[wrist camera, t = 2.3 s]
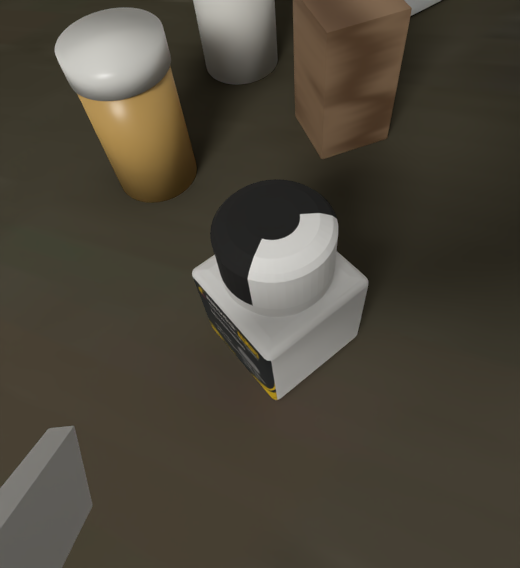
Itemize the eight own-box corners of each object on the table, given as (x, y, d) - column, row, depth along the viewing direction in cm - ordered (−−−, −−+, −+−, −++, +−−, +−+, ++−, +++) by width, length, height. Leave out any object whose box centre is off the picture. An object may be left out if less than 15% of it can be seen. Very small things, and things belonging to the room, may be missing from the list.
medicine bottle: (209, 325, 33) (166, 213, 22) (289, 267, 35) (282, 140, 24) (275, 404, 29) (260, 315, 19) (359, 335, 31) (385, 222, 21)
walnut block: (356, 96, 44) (370, -34, 34) (387, 138, 40) (411, 8, 31) (295, 115, 43) (292, -12, 34) (321, 159, 40) (326, 33, 30)
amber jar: (198, 139, 42) (164, 1, 32) (199, 199, 39) (161, 65, 28) (121, 148, 42) (62, 14, 32) (115, 209, 39) (46, 79, 29)
